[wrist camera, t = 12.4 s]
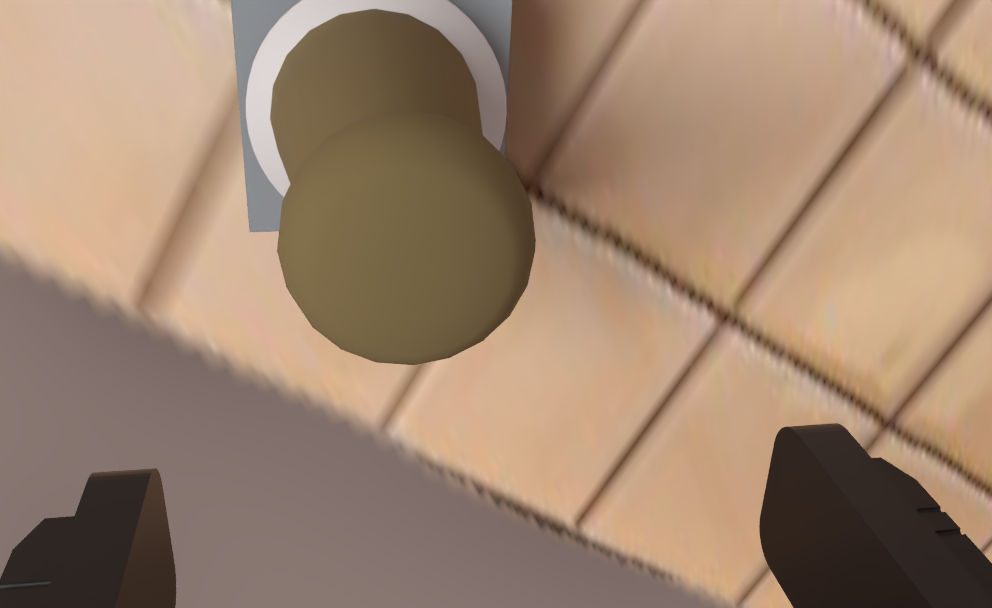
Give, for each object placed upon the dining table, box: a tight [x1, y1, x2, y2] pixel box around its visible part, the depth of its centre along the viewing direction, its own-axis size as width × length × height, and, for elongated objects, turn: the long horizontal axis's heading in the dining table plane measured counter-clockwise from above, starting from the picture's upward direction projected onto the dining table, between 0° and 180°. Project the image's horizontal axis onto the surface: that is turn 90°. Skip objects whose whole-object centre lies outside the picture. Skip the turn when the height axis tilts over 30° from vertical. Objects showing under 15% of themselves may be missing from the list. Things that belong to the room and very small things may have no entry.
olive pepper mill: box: [270, 9, 536, 365], centre depth 23 cm, size 6×6×11 cm
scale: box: [231, 0, 512, 232], centre depth 30 cm, size 8×8×5 cm
